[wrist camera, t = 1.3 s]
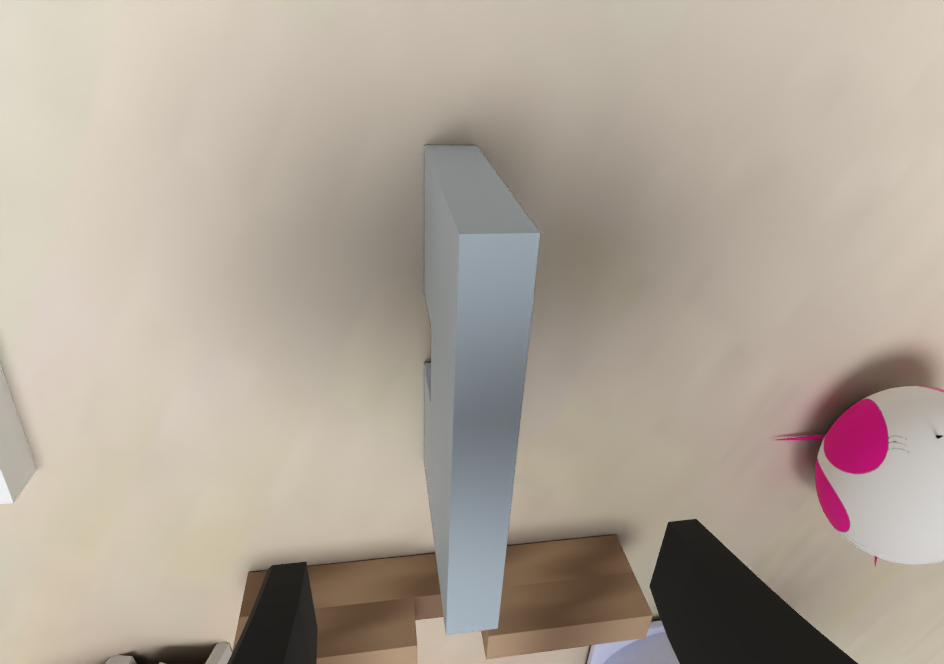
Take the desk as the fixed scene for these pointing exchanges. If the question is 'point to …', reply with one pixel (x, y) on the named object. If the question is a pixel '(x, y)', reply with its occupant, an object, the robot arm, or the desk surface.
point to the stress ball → (887, 475)
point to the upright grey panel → (473, 372)
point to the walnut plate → (521, 609)
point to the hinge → (215, 660)
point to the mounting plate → (12, 448)
